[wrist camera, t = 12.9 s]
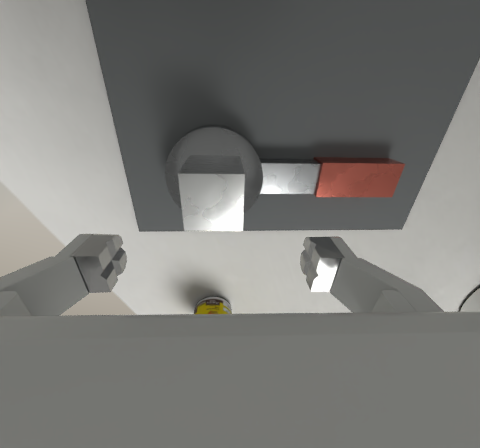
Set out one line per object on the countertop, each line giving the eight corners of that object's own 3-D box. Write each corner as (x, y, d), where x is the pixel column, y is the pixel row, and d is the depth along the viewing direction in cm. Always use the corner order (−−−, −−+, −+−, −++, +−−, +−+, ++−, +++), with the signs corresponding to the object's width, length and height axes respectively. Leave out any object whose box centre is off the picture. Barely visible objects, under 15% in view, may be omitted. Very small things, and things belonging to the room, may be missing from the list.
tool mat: (505, -16, 17) (514, -20, 17) (398, 226, 28) (402, 229, 27) (78, -46, 15) (73, -52, 15) (141, 228, 26) (139, 231, 25)
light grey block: (239, 155, 19) (244, 174, 15) (238, 201, 22) (242, 230, 17) (189, 155, 19) (177, 173, 14) (193, 201, 21) (184, 231, 16)
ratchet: (399, 129, 21) (443, 136, 17) (369, 211, 26) (399, 233, 22) (165, 123, 20) (148, 129, 16) (176, 212, 24) (165, 236, 20)
